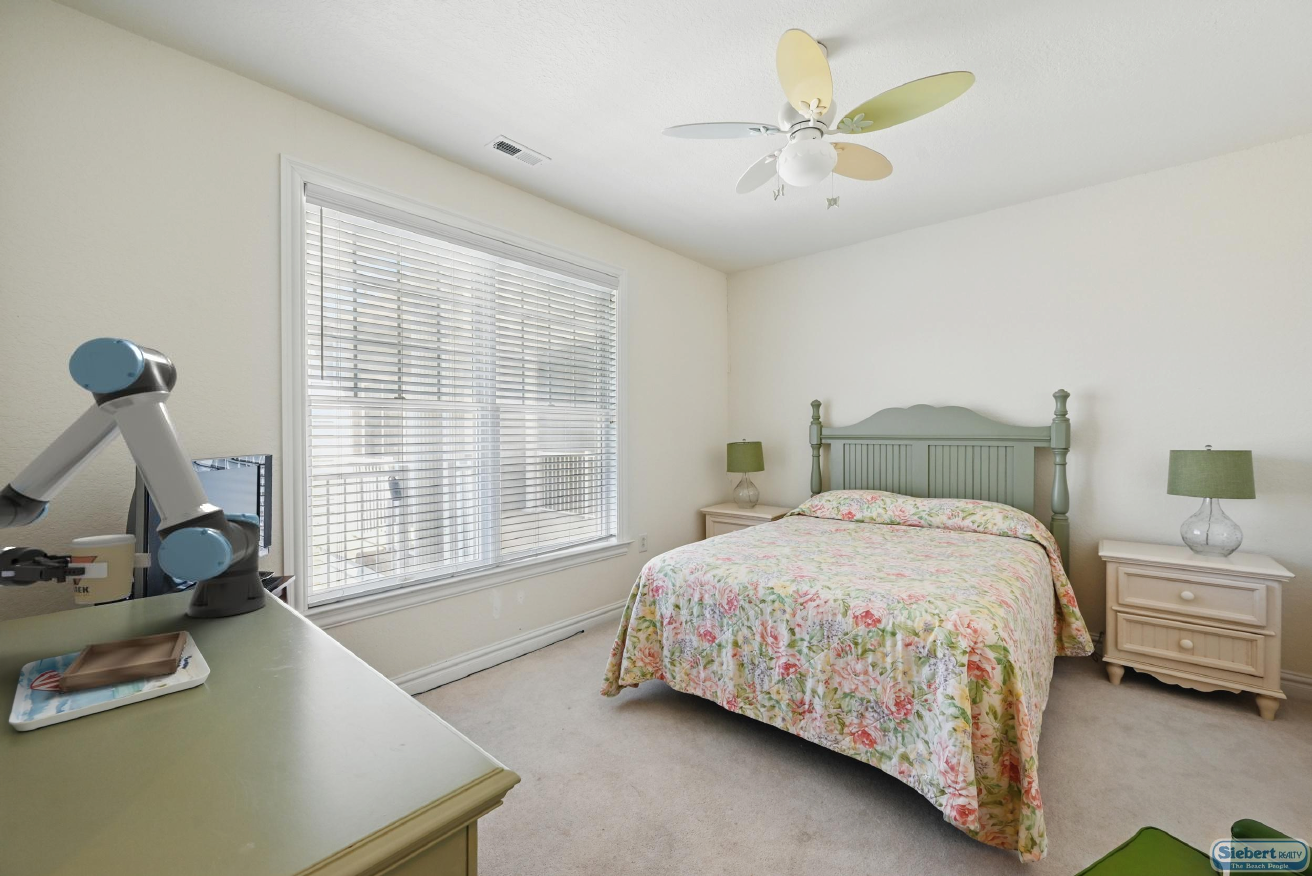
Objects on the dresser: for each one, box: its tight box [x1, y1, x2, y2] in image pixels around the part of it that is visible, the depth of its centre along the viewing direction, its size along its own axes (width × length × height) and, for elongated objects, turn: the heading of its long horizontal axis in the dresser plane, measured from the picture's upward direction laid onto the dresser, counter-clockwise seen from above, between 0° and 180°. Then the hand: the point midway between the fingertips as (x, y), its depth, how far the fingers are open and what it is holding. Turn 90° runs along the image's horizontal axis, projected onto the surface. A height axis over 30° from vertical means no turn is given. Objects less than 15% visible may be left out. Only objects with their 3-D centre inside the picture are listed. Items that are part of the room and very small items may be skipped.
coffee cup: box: [69, 533, 137, 605], centre depth 109 cm, size 9×9×12 cm
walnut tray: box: [58, 630, 187, 693], centre depth 98 cm, size 14×18×2 cm
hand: (128, 565), depth 109 cm, fingers closed on coffee cup, 9 cm apart
